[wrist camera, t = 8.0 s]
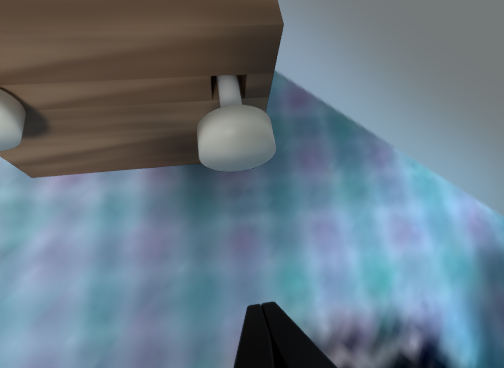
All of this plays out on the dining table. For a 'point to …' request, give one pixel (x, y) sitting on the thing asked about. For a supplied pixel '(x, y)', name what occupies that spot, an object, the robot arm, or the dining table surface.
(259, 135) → the knob
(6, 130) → the knob
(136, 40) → the knob mount
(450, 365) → the dining table surface
